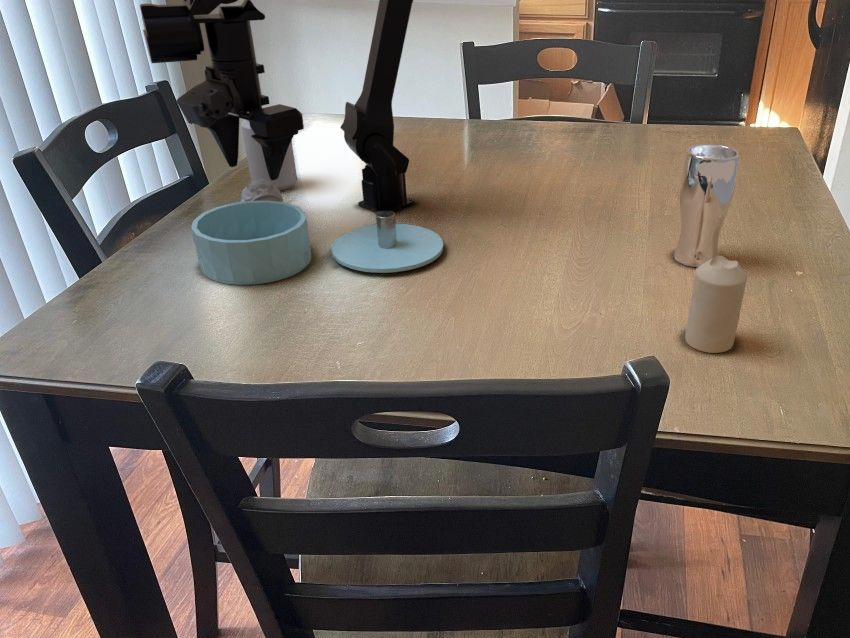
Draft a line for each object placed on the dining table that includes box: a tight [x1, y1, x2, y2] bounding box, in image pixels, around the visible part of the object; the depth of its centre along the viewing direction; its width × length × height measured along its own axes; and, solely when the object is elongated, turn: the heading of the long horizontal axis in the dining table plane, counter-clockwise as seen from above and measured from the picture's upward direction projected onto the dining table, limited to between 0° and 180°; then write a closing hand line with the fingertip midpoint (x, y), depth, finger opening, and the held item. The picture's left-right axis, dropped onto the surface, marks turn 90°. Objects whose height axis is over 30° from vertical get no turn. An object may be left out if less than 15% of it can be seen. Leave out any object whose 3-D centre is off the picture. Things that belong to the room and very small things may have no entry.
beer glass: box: [673, 143, 740, 269], centre depth 103 cm, size 7×7×15 cm
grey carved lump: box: [240, 178, 284, 202], centre depth 113 cm, size 6×7×7 cm
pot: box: [190, 201, 312, 286], centre depth 103 cm, size 14×15×6 cm
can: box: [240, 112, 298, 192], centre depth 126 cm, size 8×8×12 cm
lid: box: [330, 211, 444, 274], centre depth 106 cm, size 15×15×6 cm
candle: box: [684, 255, 748, 354], centre depth 85 cm, size 6×6×10 cm
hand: (253, 172), depth 111 cm, fingers open, 9 cm apart
